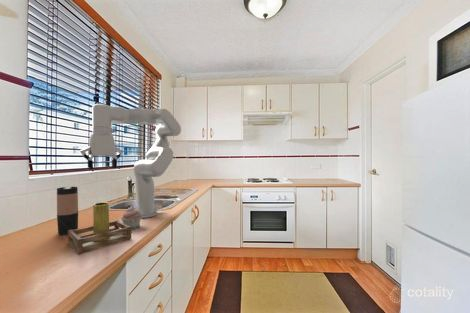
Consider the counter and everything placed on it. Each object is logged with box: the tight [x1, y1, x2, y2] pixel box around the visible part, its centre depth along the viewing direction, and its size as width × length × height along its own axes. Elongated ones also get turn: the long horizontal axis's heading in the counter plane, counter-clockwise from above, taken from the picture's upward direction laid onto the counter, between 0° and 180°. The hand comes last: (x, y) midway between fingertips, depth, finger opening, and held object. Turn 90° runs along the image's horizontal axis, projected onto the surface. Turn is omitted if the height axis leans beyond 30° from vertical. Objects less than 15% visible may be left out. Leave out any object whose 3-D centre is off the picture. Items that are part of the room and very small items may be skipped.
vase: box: [92, 201, 110, 242], centre depth 90 cm, size 6×6×14 cm
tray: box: [67, 219, 132, 255], centre depth 90 cm, size 18×14×5 cm
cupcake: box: [120, 206, 143, 230], centre depth 107 cm, size 9×9×10 cm
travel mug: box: [56, 186, 79, 236], centre depth 101 cm, size 8×8×20 cm
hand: (102, 168), depth 104 cm, fingers open, 9 cm apart
